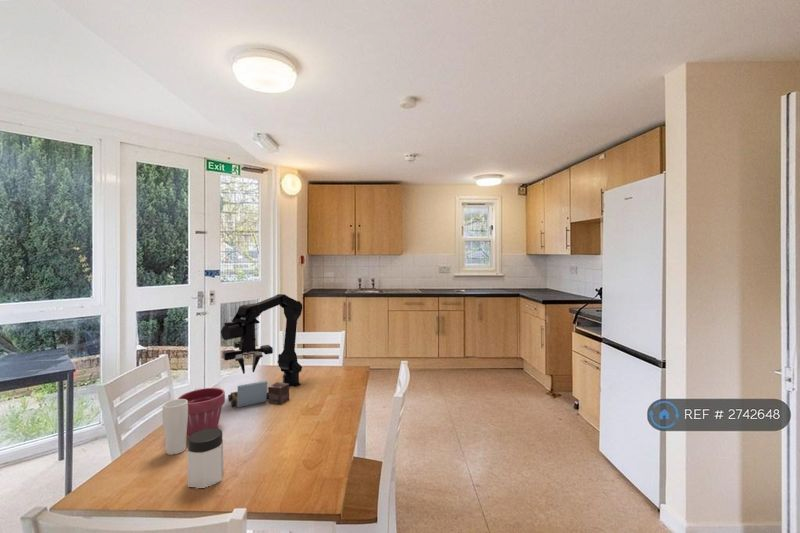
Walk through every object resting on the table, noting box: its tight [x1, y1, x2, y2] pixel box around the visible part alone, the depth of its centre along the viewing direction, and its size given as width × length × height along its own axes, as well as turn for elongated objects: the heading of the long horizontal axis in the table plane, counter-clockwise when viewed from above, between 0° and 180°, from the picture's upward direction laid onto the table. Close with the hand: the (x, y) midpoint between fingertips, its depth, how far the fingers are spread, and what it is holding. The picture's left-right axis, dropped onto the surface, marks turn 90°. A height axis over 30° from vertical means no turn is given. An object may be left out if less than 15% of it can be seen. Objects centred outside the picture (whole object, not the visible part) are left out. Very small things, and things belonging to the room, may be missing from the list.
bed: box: [227, 390, 269, 410], centre depth 152 cm, size 14×12×3 cm
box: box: [267, 381, 290, 406], centre depth 150 cm, size 6×6×7 cm
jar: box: [186, 428, 224, 489], centre depth 97 cm, size 9×8×12 cm
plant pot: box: [177, 387, 226, 438], centre depth 125 cm, size 14×14×13 cm
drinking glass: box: [161, 398, 188, 456], centre depth 112 cm, size 7×7×15 cm
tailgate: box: [236, 380, 268, 409], centre depth 146 cm, size 11×9×1 cm
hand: (248, 372), depth 151 cm, fingers open, 3 cm apart
